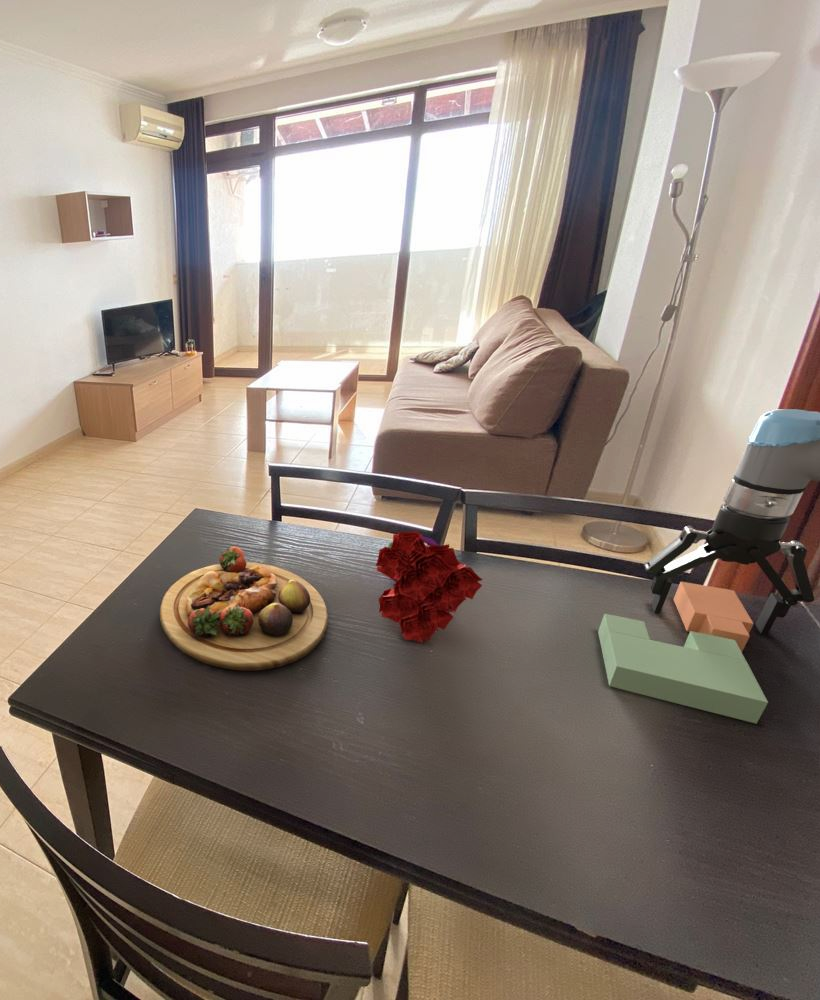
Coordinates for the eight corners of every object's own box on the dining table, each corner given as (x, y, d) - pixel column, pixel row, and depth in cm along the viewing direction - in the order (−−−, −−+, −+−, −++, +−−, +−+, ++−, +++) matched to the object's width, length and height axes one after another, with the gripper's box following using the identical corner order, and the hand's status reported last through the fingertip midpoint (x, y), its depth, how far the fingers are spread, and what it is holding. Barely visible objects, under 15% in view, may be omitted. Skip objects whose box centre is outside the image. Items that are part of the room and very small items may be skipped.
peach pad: (725, 609, 95) (734, 590, 93) (752, 658, 84) (762, 638, 83) (673, 599, 99) (680, 581, 97) (692, 645, 88) (701, 626, 86)
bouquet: (434, 584, 119) (477, 651, 90) (355, 579, 123) (372, 641, 94) (443, 498, 114) (490, 539, 86) (361, 495, 118) (380, 534, 90)
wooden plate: (180, 564, 123) (178, 533, 119) (326, 576, 114) (328, 542, 110) (140, 661, 95) (135, 623, 92) (328, 686, 86) (331, 646, 83)
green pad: (725, 660, 85) (735, 640, 83) (756, 723, 74) (768, 702, 72) (597, 632, 92) (604, 613, 91) (609, 686, 82) (616, 666, 80)
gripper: (656, 506, 87) (618, 612, 96) (890, 535, 75) (820, 653, 84) (647, 488, 93) (612, 590, 102) (863, 512, 81) (801, 625, 90)
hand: (706, 619), depth 93 cm, fingers open, 13 cm apart
